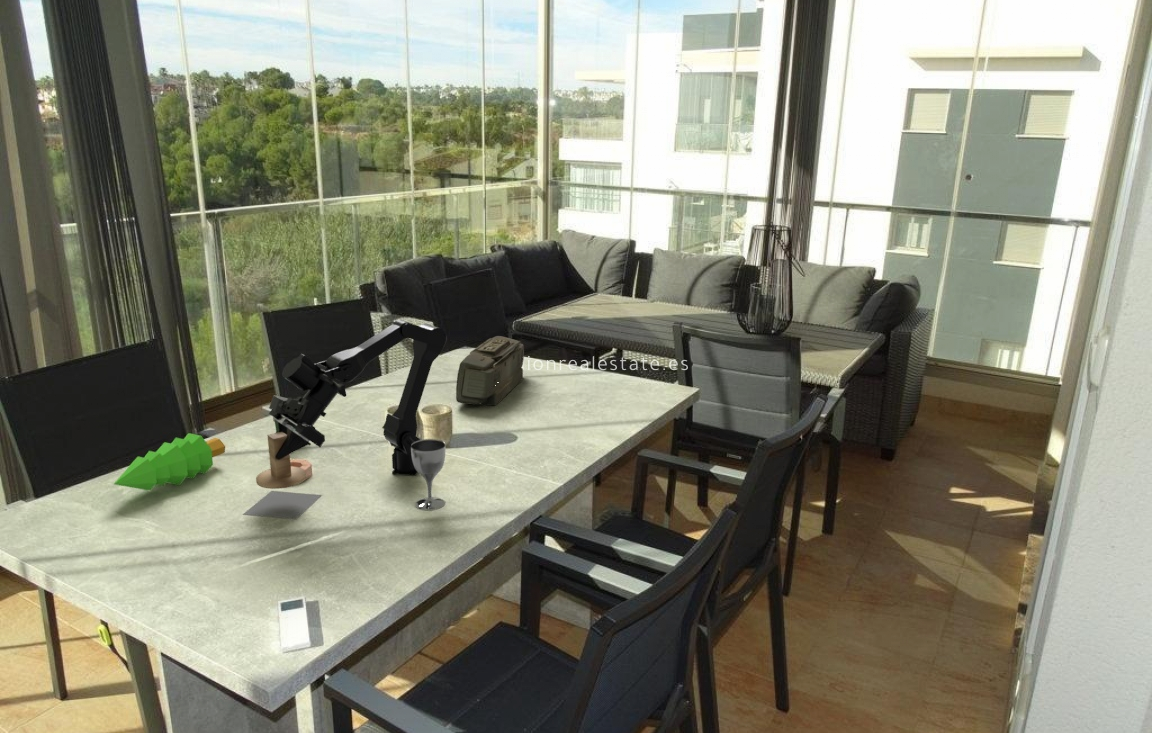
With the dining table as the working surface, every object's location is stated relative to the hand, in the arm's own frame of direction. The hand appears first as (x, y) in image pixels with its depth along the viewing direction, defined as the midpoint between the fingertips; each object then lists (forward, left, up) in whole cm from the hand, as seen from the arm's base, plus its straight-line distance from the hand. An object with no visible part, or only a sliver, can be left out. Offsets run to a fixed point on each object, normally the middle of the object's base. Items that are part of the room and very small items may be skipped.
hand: (273, 456), depth 182 cm
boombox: (-27, -99, -13) cm, 103 cm away
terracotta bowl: (+5, -17, -13) cm, 22 cm away
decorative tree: (+33, -8, -13) cm, 36 cm away
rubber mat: (-1, -1, -13) cm, 13 cm away
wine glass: (-34, -9, -13) cm, 38 cm away
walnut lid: (-1, -1, -6) cm, 6 cm away
